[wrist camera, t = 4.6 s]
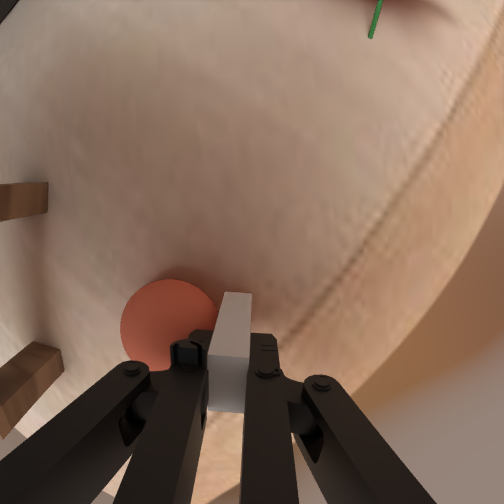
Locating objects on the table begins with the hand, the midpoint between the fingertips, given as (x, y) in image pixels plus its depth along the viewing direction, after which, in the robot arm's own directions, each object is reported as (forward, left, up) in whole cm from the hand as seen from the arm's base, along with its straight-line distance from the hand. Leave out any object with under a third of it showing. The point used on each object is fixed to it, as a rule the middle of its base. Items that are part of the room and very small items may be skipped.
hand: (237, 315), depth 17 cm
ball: (+1, -3, +1) cm, 4 cm away
